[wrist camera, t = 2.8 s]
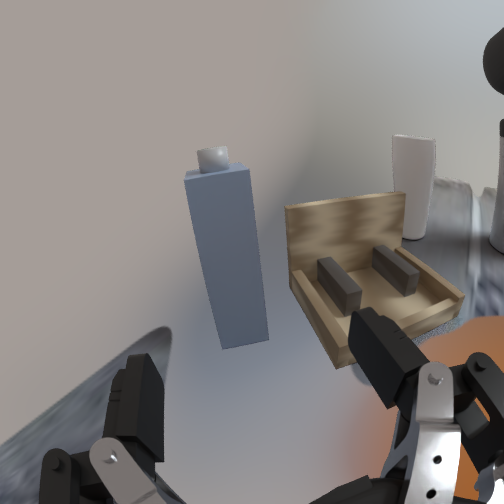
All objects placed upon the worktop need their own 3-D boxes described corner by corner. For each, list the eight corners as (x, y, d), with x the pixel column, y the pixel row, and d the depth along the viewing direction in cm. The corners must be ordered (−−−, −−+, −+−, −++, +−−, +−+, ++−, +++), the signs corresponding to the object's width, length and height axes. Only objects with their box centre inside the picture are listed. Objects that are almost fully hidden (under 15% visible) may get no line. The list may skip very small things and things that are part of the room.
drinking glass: (404, 222, 41) (407, 135, 34) (435, 235, 35) (443, 140, 28) (380, 232, 39) (382, 134, 32) (414, 247, 33) (422, 139, 26)
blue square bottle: (259, 312, 26) (237, 143, 19) (269, 339, 22) (246, 145, 15) (218, 320, 25) (183, 151, 18) (222, 349, 22) (179, 156, 15)
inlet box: (393, 261, 31) (400, 191, 27) (457, 315, 20) (482, 229, 16) (289, 287, 29) (284, 206, 25) (335, 369, 18) (347, 265, 14)
